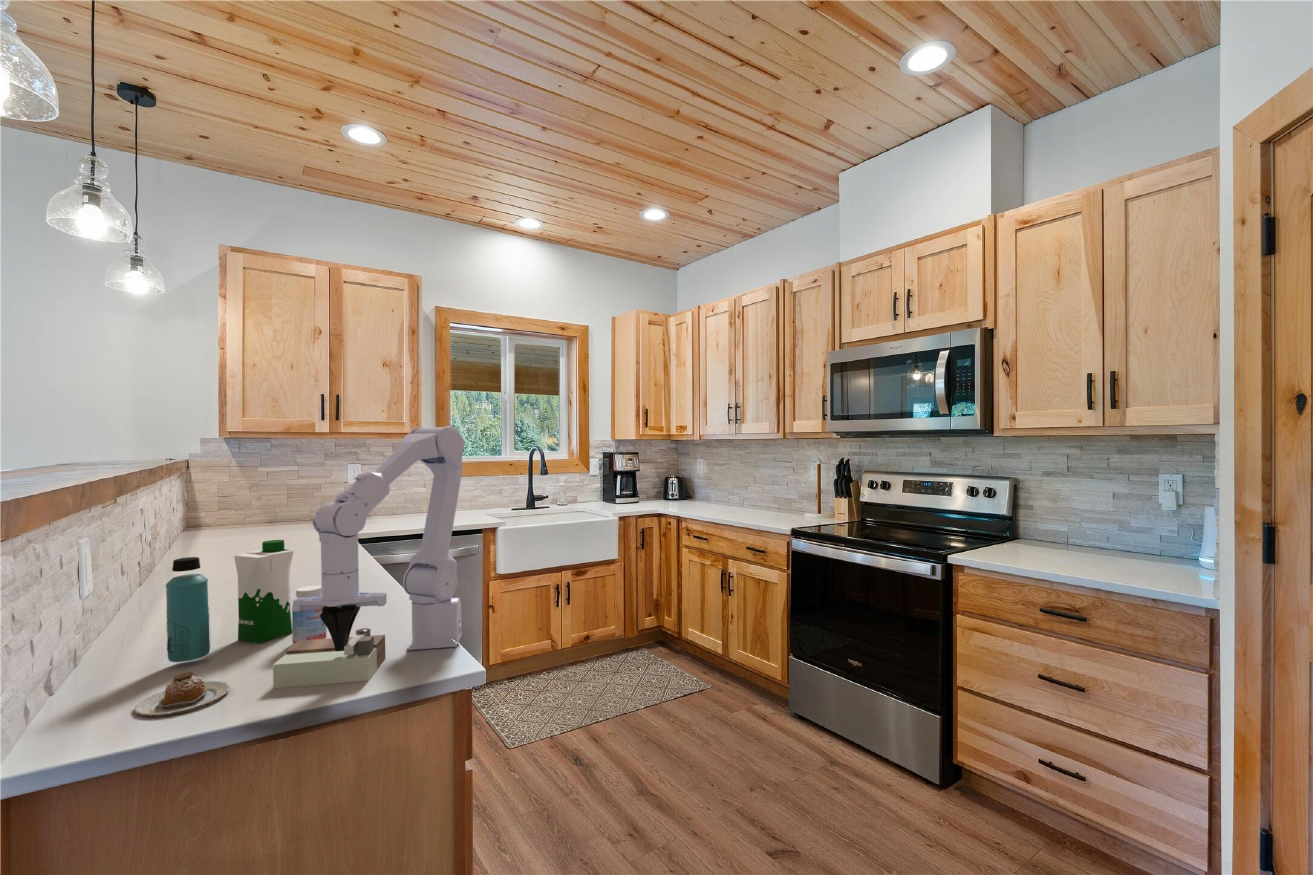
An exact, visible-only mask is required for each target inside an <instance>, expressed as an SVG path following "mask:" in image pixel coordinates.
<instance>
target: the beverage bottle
mask: <svg viewBox="0 0 1313 875" xmlns="http://www.w3.org/2000/svg"><path fill="white" fill-rule="evenodd" d="M171 569H172V570H171V571H172V572H177V573H179V572H189V571H194V570H195V571H196V570H199V569H201V560H200V558H199V556H198V557H197V556H187V557H180V558H175V559H174V560H173V561H172V568H171ZM208 582H209V578H208V577H206V576H204V575H203V574H202V573H191V574H190V573H189V574H181V575H177V576H174V577H172V578H171V579H170V580H169V581H168V582H166V583H165V588H166V591H165V593H166V609H165V612H166V622H165V623H166V624H165V626H166V629H165V631H166V634H167V635H166V641H165V642H166V651H167V653H166V656H167V659H168V661H169V662H170V663H183V662H184V663H185V662H189V661H194V660H198V659H201V658H203V657H206V656H207V655H209V654H210V651H211V649H212V647H211V644H212V642H211V636H210V621H211V620H210V619H211V618H210V612H209V611H211V610H210V607H209V589H208V588H209V586H208Z"/></svg>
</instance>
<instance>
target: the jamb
mask: <svg viewBox="0 0 1313 875" xmlns="http://www.w3.org/2000/svg"><path fill="white" fill-rule="evenodd" d="M372 636H374V648H377V670H378V669H379V668H380V667H381V665H382V664H383V663H384V661H385V659H386V634H378V635H377V634H376V635H375V634H374V635H373V634H372ZM353 637H354V636H349V640H348V642H349V641H350V640H351V639H352V638H353ZM322 651H335V647H334V643H333V640H332V637H330V638H326V639H315V640H301V641H298V642H297V643H296V644H294V645H293V644H292V646H290V647H289V648H287V650H286V651H285V654H294V653H308V652H322Z"/></svg>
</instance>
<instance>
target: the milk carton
mask: <svg viewBox="0 0 1313 875" xmlns="http://www.w3.org/2000/svg"><path fill="white" fill-rule="evenodd" d="M293 554H294V550H290V549H285V540H284V539H273V540H266V541H265V540H264V541H263V542H262V543H261V549H260V550H255V551H247V552H245V553H240V554H235V555H233V558H234V562H235V568H236V573H237V600H238V601H237V602H238V604H237V605H238V608H237V610H238V611H237V612H238V621H237V623H238V624H237V640H238V641H241V642H246V643H254V644H259V645H260V644H264V643H267V642H270V641H273V640H276V639H279V638H282V637H284V636H287V635H291V634H292V612H291V571H290V570H291V565H292V559H293Z"/></svg>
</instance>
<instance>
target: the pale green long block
mask: <svg viewBox="0 0 1313 875" xmlns="http://www.w3.org/2000/svg"><path fill="white" fill-rule="evenodd" d="M377 670H378V669H377V648H374V636H373V635H370V636H364V637H361V638H360V639H359V640H358V641H357V651H356V652H355V653H354V654H352V655H344V651H322V652H308V653H294V654H286V653H285V654H284V655H283V656H282V657H280V659H278V660H277V661H275V662H274V663H273V664H272V683H273V684H272V688H273V689H282V688H283V689H284V688H286V689H287V688H297V687H307V686H319V685H320V686H322V685H333V684H343V683H345V684H346V683H356V682H368V681H370V680H371V679H372V677H373V675H374V674H375V673H376V672H377Z"/></svg>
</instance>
